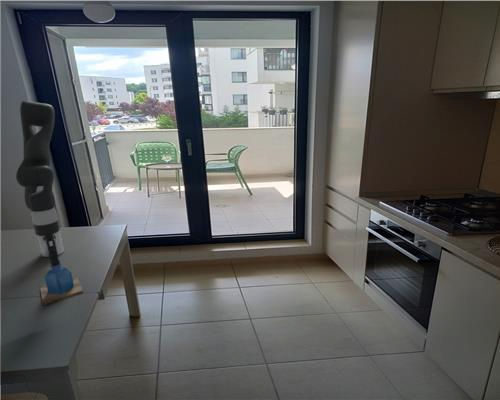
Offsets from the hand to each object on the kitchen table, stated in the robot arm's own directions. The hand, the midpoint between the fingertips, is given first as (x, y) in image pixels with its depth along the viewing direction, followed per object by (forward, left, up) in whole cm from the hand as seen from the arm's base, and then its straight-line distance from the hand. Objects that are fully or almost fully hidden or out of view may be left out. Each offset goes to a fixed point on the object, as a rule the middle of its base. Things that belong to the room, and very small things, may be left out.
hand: (54, 260), depth 112 cm
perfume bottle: (0, 0, -13) cm, 13 cm away
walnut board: (0, 0, -13) cm, 13 cm away
